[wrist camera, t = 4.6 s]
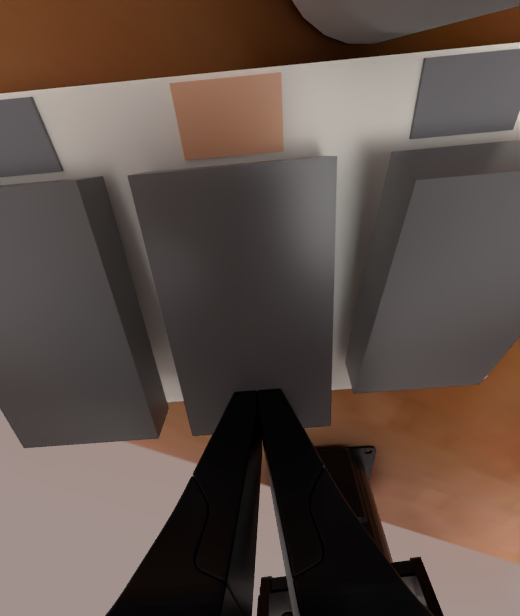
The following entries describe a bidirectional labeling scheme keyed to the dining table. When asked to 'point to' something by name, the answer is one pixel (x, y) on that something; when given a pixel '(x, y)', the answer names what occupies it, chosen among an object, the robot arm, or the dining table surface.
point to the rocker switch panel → (264, 143)
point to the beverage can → (390, 16)
